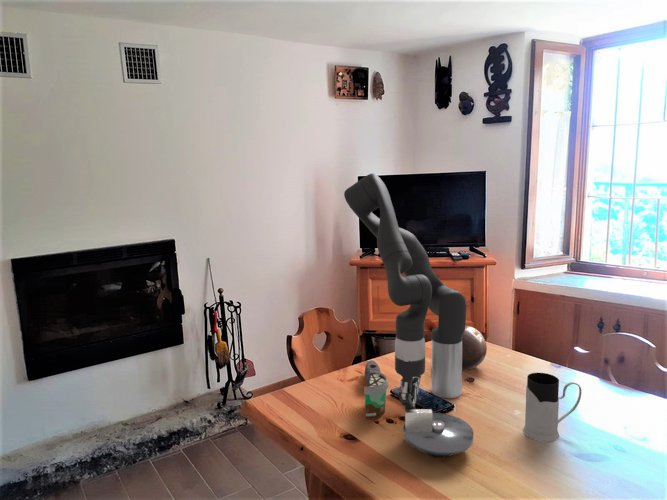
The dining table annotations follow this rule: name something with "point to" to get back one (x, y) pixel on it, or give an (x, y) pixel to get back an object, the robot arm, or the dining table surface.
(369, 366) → the perforated stone tool
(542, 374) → the glass holder
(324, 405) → the dining table surface
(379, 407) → the food container
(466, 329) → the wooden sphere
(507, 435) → the dining table surface
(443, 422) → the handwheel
